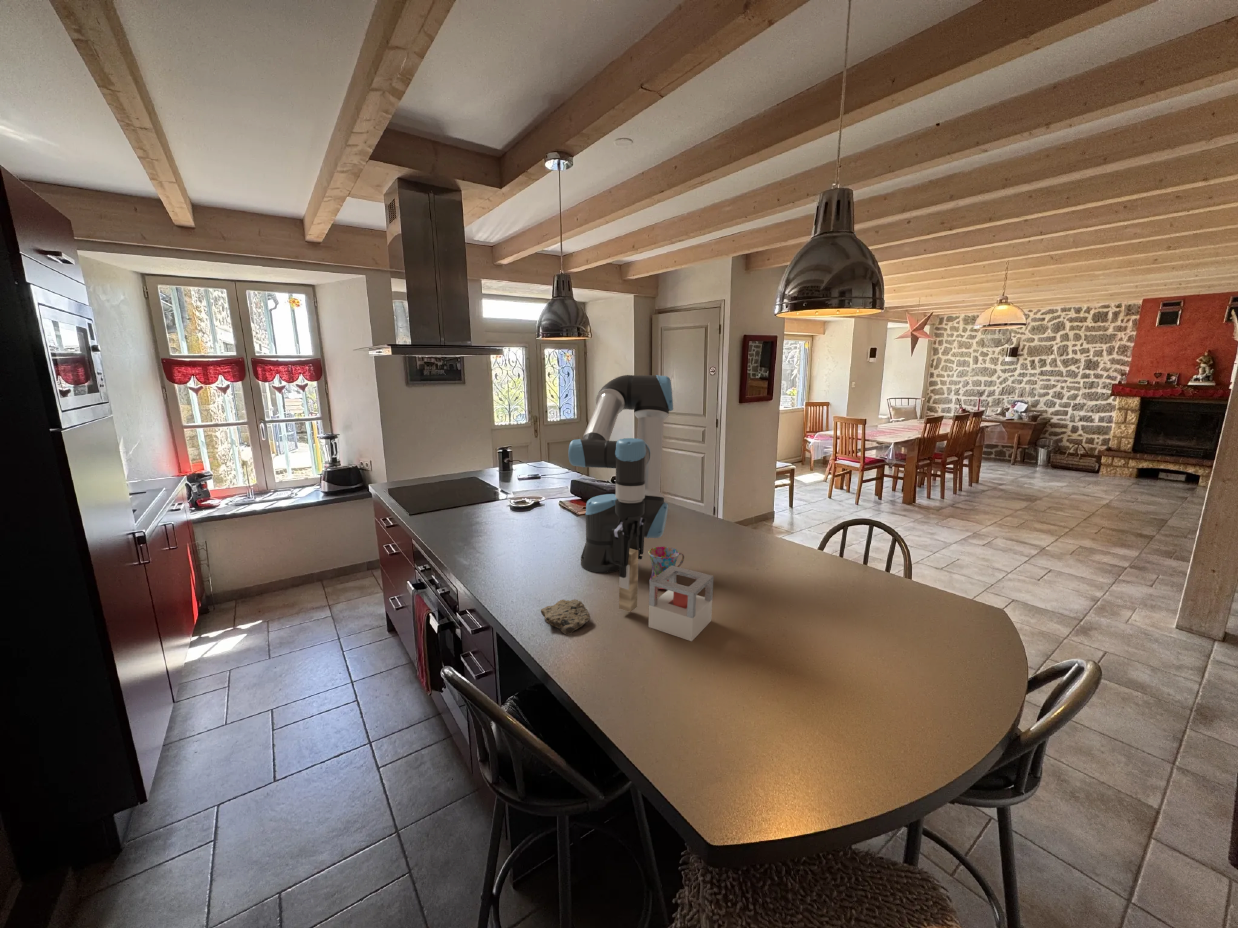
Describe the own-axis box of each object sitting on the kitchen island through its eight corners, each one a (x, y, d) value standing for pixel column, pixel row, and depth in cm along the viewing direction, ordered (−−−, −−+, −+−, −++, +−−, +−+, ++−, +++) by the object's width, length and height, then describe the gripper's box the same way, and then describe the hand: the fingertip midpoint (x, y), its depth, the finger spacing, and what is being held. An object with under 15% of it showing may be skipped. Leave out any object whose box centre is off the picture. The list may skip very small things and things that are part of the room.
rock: (552, 639, 119) (551, 622, 119) (538, 617, 130) (538, 601, 129) (594, 628, 124) (594, 612, 123) (578, 608, 134) (577, 593, 134)
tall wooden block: (626, 603, 134) (626, 547, 131) (637, 606, 132) (638, 550, 129) (619, 608, 131) (619, 551, 128) (630, 611, 129) (631, 554, 126)
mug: (657, 594, 143) (658, 559, 141) (642, 582, 151) (642, 549, 149) (691, 586, 148) (693, 553, 146) (674, 575, 157) (675, 543, 155)
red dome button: (677, 612, 129) (678, 586, 128) (691, 617, 127) (692, 590, 126) (670, 619, 126) (670, 591, 124) (684, 623, 124) (685, 596, 122)
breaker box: (670, 608, 135) (671, 587, 134) (711, 620, 128) (712, 599, 127) (648, 626, 125) (649, 604, 124) (691, 641, 119) (692, 618, 117)
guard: (671, 587, 134) (671, 565, 132) (712, 599, 127) (713, 575, 126) (649, 604, 124) (649, 580, 123) (692, 618, 117) (693, 593, 116)
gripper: (634, 490, 134) (632, 571, 139) (599, 504, 121) (598, 592, 125) (658, 494, 130) (656, 577, 135) (624, 508, 117) (623, 600, 121)
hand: (628, 584), depth 130 cm, fingers closed on tall wooden block, 3 cm apart
